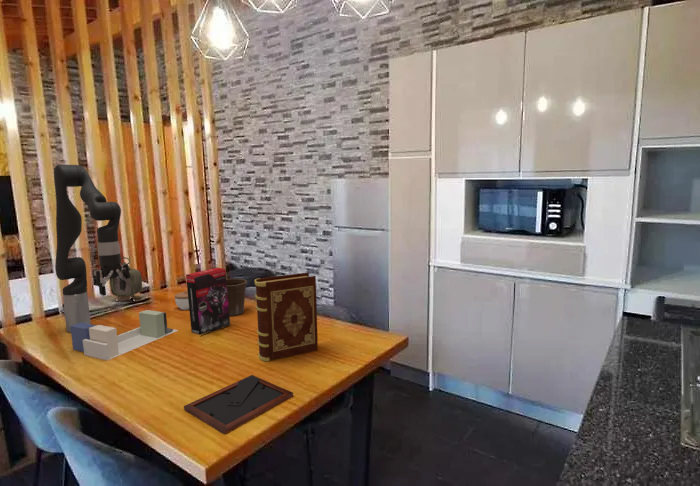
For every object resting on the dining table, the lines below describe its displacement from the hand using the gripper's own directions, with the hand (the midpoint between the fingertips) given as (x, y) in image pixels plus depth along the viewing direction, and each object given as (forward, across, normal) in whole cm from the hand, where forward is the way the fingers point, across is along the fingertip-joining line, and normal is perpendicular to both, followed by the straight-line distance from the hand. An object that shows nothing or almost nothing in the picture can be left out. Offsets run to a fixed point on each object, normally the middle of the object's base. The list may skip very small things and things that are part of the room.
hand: (113, 292), depth 168 cm
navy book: (+23, +8, -7) cm, 26 cm away
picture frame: (+22, +18, +74) cm, 80 cm away
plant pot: (+23, -53, +15) cm, 60 cm away
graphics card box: (+23, -29, +22) cm, 43 cm away
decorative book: (+22, -20, +68) cm, 74 cm away
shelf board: (+23, -4, +4) cm, 24 cm away
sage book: (+22, -13, +5) cm, 26 cm away
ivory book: (+22, +9, +4) cm, 24 cm away
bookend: (+21, -18, +5) cm, 28 cm away
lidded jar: (+24, -51, -13) cm, 57 cm away
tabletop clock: (+24, -51, -56) cm, 79 cm away
